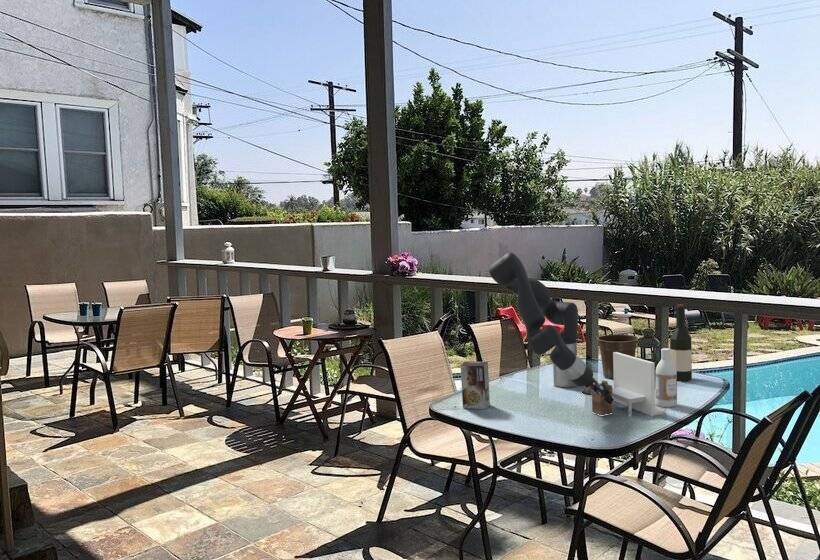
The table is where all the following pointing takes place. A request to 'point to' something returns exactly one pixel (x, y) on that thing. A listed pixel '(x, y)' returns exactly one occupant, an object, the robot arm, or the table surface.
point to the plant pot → (615, 350)
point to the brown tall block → (602, 402)
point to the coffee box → (475, 385)
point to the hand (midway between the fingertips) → (606, 399)
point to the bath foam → (666, 381)
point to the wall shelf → (634, 384)
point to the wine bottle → (681, 347)
